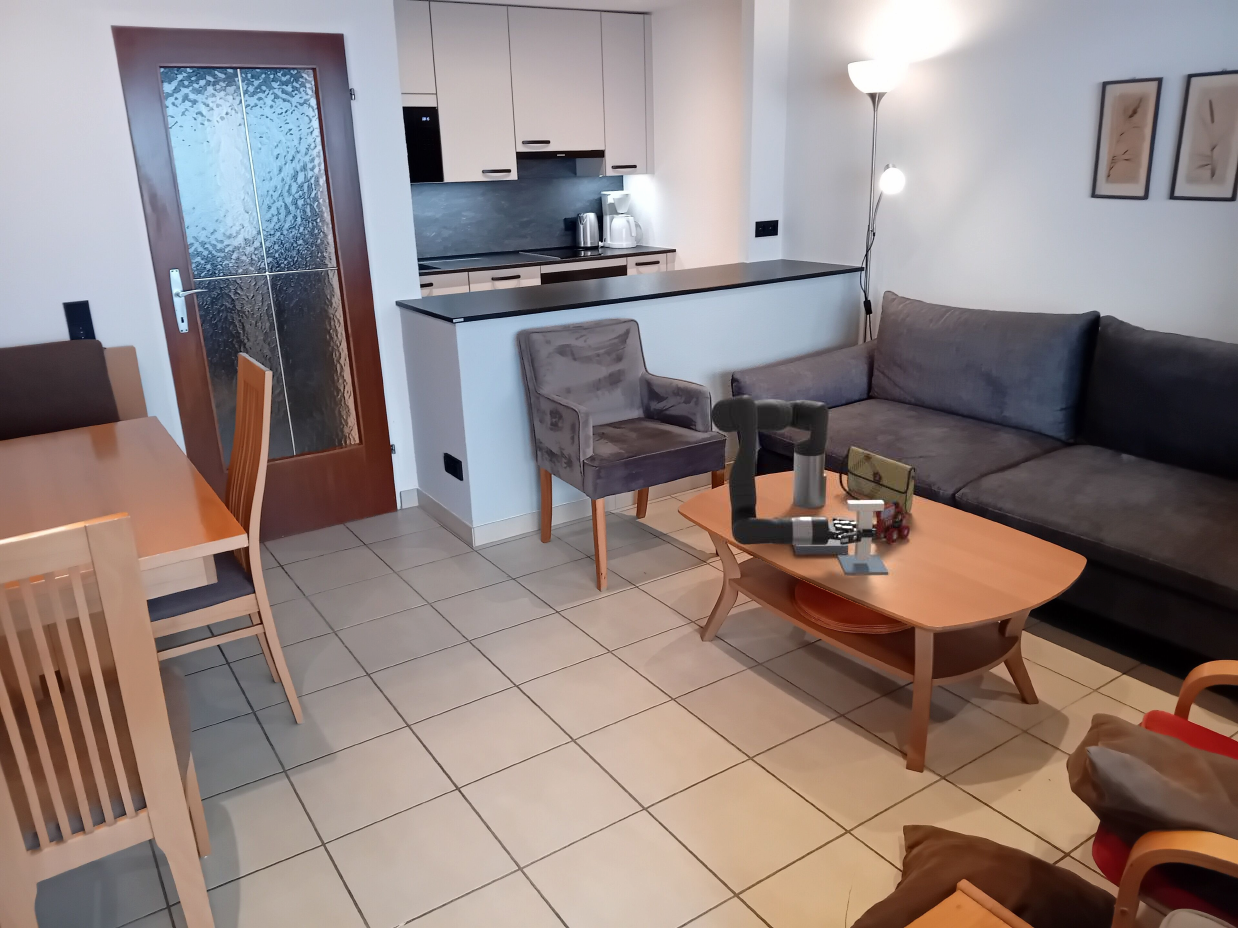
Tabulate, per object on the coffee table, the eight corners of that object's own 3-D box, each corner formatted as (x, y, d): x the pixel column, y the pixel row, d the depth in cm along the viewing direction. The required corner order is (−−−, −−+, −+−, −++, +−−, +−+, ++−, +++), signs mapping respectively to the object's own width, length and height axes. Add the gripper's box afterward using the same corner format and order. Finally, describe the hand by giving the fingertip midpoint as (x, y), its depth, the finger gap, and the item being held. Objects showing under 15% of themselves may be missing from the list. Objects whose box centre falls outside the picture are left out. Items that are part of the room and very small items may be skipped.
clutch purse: (833, 491, 287) (834, 447, 282) (849, 487, 290) (851, 443, 285) (901, 520, 262) (904, 472, 257) (918, 515, 265) (921, 468, 260)
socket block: (796, 554, 241) (796, 546, 240) (789, 534, 254) (790, 526, 254) (848, 553, 240) (848, 545, 239) (838, 533, 253) (839, 525, 253)
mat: (845, 574, 228) (845, 572, 228) (837, 556, 239) (837, 554, 239) (888, 573, 228) (888, 571, 227) (878, 556, 238) (878, 554, 238)
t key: (846, 561, 231) (849, 504, 226) (843, 555, 234) (846, 499, 229) (880, 560, 231) (884, 504, 226) (878, 555, 234) (881, 499, 229)
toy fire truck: (913, 535, 251) (916, 501, 247) (886, 547, 244) (889, 512, 240) (892, 528, 256) (895, 494, 253) (866, 539, 249) (868, 505, 245)
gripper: (813, 527, 223) (882, 527, 222) (805, 507, 236) (870, 507, 235) (812, 554, 225) (880, 554, 224) (804, 533, 239) (868, 532, 238)
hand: (874, 530), depth 230 cm, fingers closed on t key, 3 cm apart
